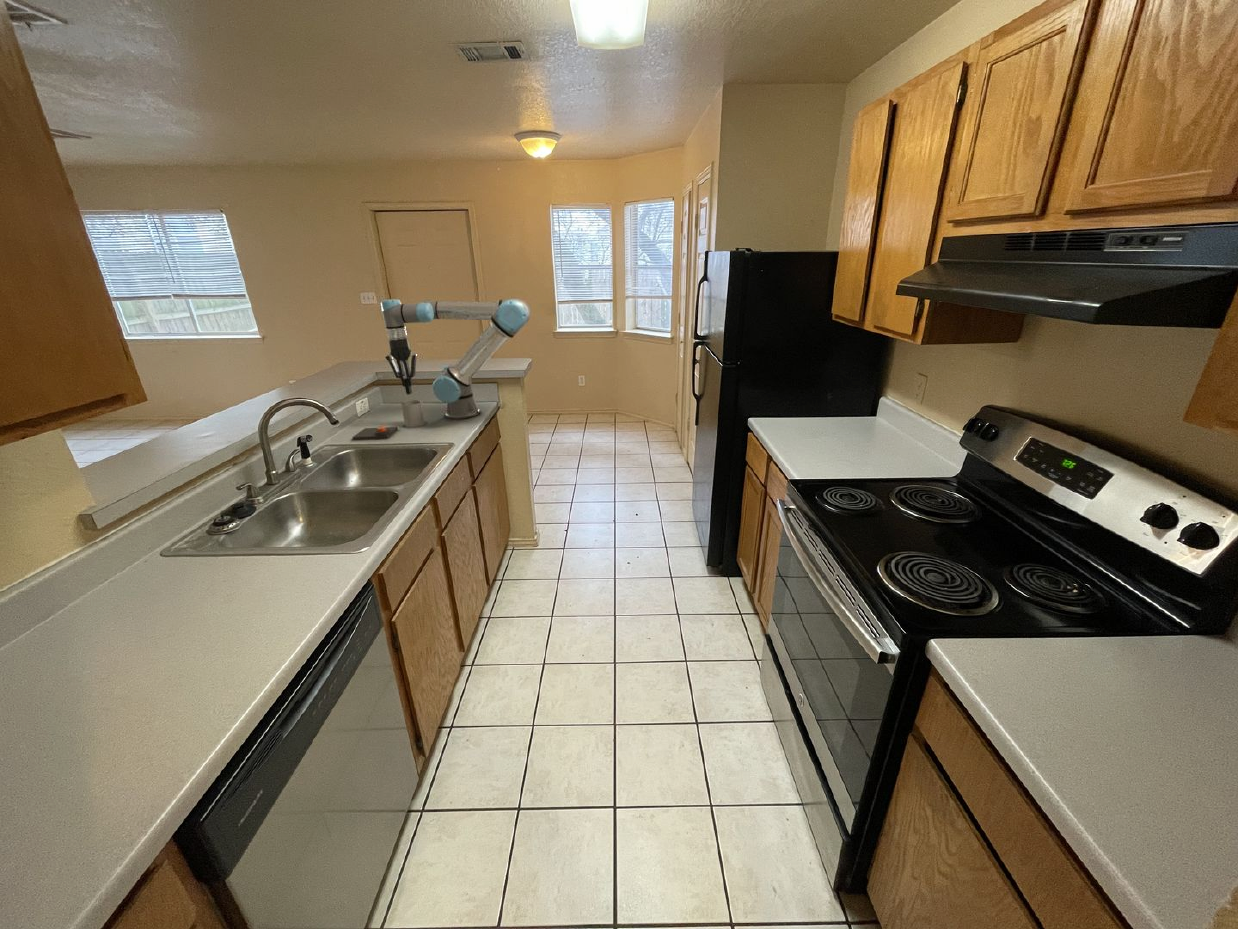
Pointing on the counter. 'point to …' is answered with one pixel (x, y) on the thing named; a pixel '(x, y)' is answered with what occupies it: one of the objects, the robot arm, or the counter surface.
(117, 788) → the counter surface
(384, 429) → the tare button
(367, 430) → the scale
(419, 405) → the cup
